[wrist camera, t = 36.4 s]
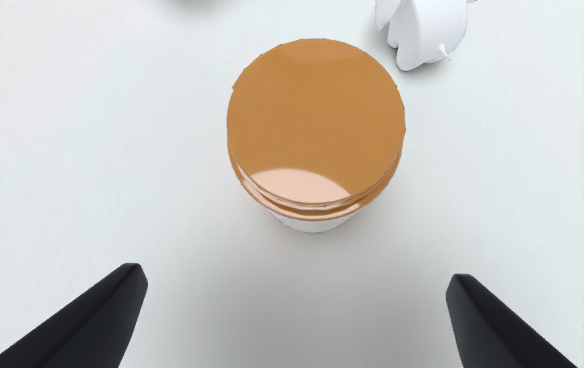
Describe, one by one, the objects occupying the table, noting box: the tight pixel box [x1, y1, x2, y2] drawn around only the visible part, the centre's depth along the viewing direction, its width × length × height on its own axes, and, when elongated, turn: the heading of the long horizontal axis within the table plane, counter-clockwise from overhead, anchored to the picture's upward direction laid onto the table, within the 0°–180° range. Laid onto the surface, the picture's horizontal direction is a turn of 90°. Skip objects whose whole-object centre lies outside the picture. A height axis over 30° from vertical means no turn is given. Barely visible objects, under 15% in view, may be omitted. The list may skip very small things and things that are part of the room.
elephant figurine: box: [375, 0, 477, 71], centre depth 20 cm, size 7×8×6 cm
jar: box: [227, 39, 406, 233], centre depth 16 cm, size 7×7×12 cm
